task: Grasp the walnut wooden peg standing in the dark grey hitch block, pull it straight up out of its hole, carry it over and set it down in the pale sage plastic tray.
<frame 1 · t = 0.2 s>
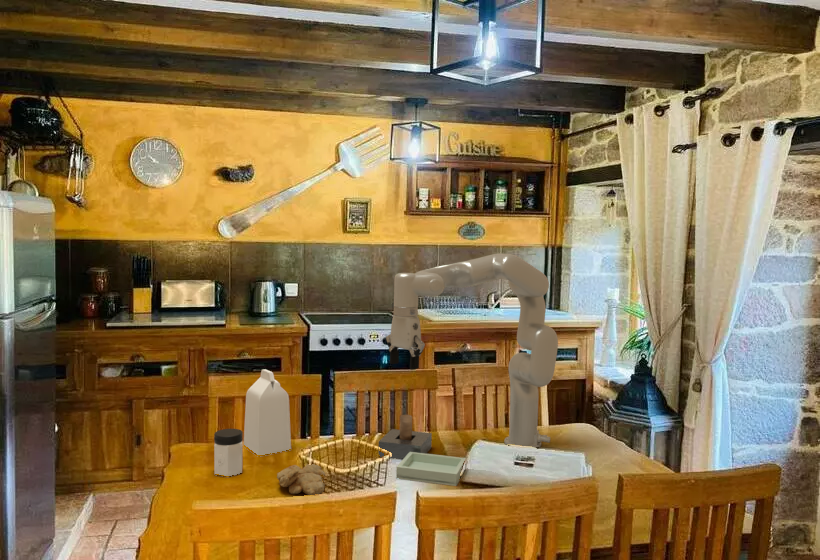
hand: (404, 366, 207), 30 cm above the table, tool pointing down, fingers open, 9 cm apart
jar: (228, 472, 196), on the table
ginger root: (301, 490, 184), on the table
sage tray: (431, 473, 197), on the table
hitch block: (405, 452, 216), on the table
milk: (267, 448, 218), on the table
walnut peg: (405, 434, 216), in the hitch block
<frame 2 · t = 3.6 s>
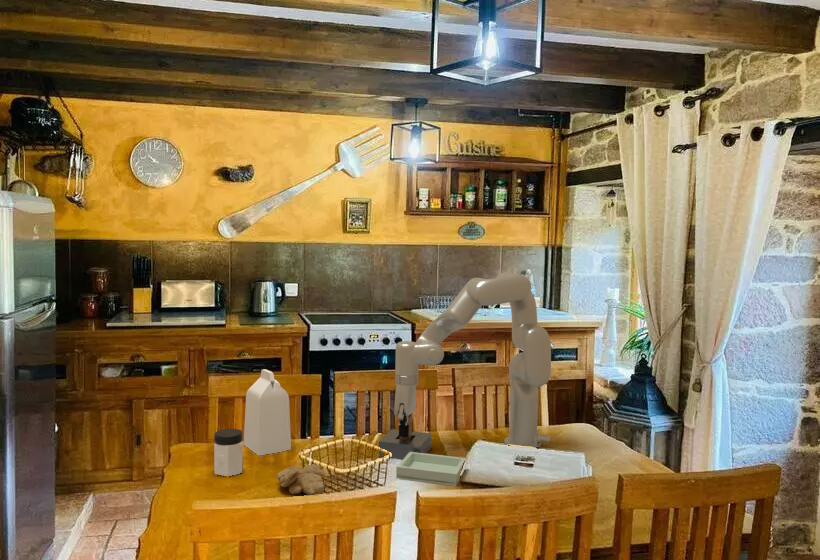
hand: (405, 433, 216), 6 cm above the table, tool pointing down, fingers closed on walnut peg, 4 cm apart
walnut peg: (405, 434, 216), in the hitch block, touching gripper
everything else where it was.
when the fingers open (9 cm above the table, at t = 11.9 s): walnut peg drops 2 cm, resting on sage tray.
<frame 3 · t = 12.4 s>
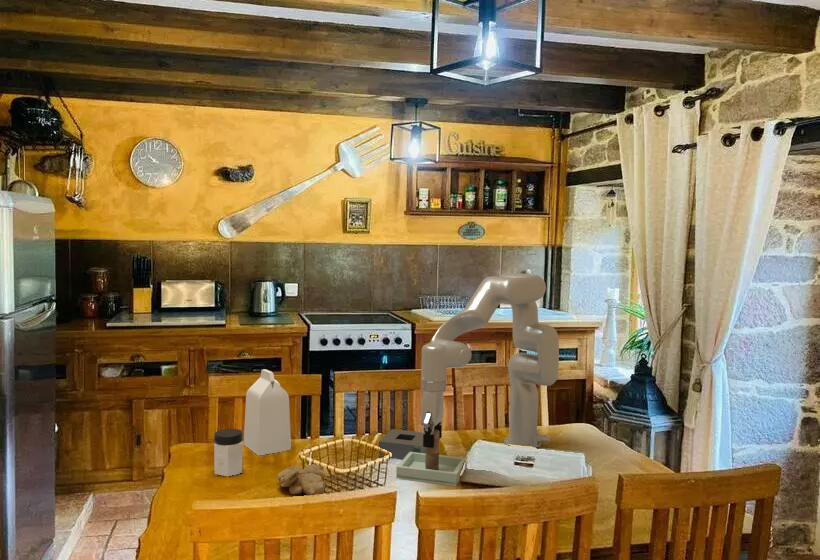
hand: (432, 442, 197), 10 cm above the table, tool pointing down, fingers open, 9 cm apart
walnut peg: (432, 450, 197), in the sage tray, point 7 cm above the table
everything else where it was.
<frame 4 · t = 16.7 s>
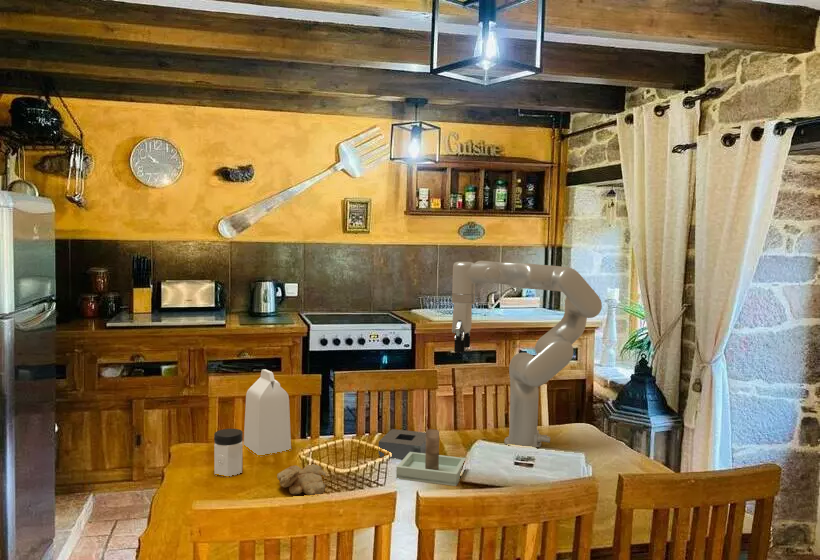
hand: (462, 349, 220), 33 cm above the table, tool pointing down, fingers open, 9 cm apart
nothing on the table moved.
at the end: walnut peg inside the target area on the sage tray (0.1 cm from its centre), point 7.0 cm above the sage tray's base; the gripper is holding nothing; walnut peg moved 20.6 cm from its start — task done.
